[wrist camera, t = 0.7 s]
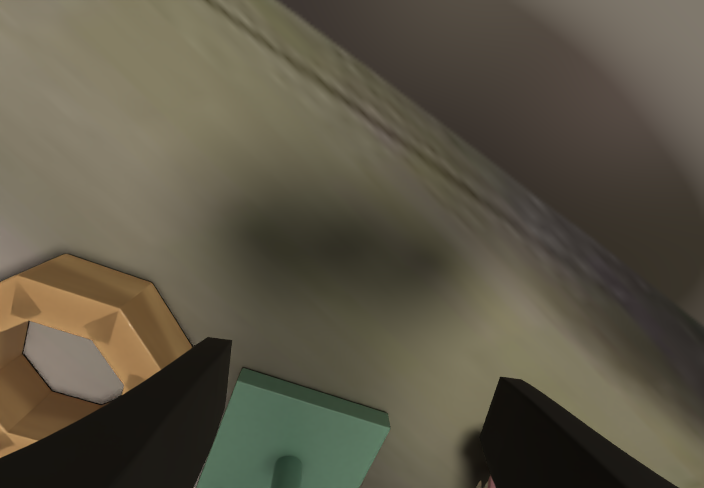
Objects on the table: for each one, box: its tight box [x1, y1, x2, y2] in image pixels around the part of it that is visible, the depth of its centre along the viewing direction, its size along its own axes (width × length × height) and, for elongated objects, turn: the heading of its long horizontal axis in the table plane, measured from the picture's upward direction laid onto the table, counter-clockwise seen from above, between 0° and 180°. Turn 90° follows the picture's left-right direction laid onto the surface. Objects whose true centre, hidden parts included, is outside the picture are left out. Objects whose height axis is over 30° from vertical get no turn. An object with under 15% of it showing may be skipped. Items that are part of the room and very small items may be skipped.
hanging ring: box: [0, 254, 192, 458], centre depth 19 cm, size 10×10×3 cm
